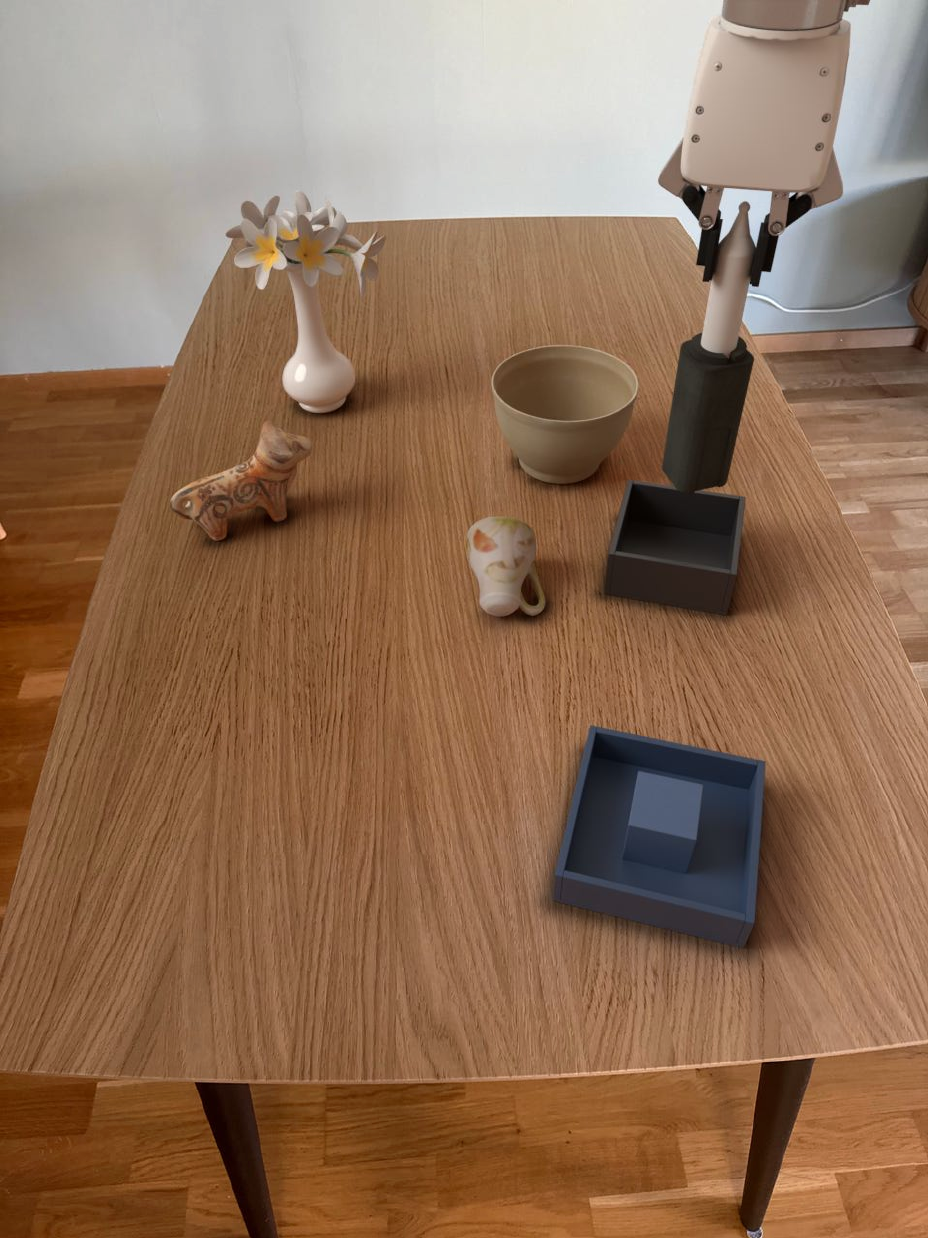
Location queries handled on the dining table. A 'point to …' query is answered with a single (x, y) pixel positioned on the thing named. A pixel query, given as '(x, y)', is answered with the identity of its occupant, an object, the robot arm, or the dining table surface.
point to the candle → (713, 373)
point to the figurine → (245, 483)
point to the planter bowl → (563, 408)
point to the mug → (503, 564)
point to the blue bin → (687, 903)
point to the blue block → (663, 822)
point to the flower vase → (306, 288)
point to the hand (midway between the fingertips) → (731, 274)
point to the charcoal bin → (676, 547)
